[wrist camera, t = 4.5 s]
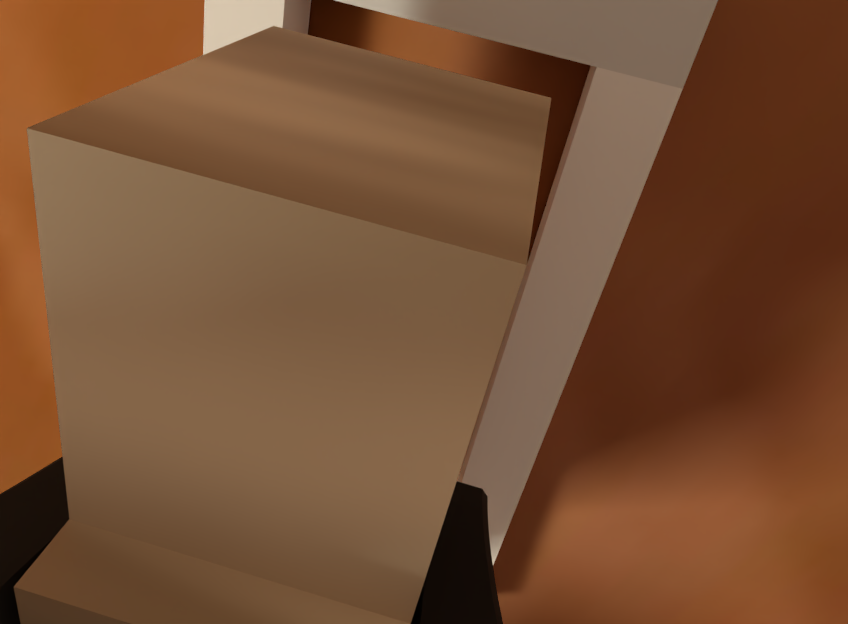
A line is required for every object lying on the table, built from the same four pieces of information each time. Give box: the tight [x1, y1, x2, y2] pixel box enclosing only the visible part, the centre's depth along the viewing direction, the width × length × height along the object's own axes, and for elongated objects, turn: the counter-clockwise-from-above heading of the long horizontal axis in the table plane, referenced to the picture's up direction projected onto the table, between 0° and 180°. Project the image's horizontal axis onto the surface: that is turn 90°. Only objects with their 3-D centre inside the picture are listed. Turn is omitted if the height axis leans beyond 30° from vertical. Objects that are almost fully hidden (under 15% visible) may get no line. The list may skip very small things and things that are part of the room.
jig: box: [203, 0, 718, 565], centre depth 13 cm, size 14×7×1 cm, turn 168°
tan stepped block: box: [14, 26, 551, 624], centre depth 9 cm, size 11×4×5 cm, turn 168°
